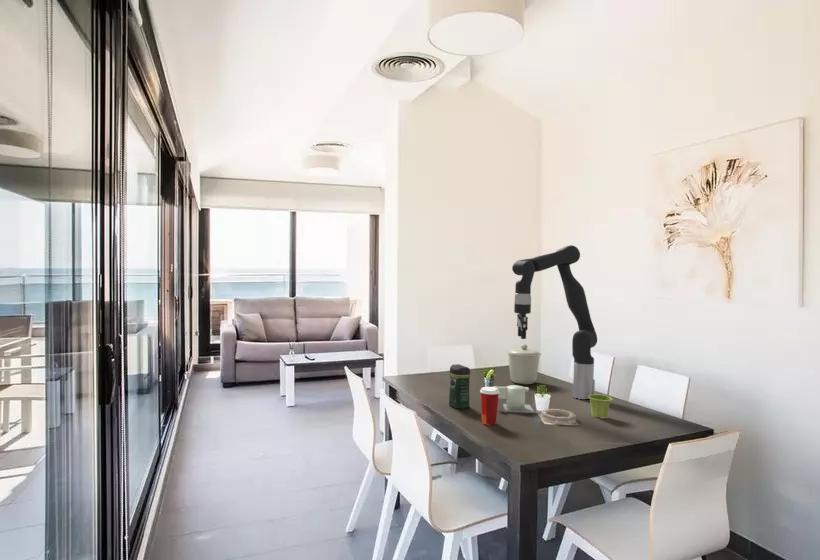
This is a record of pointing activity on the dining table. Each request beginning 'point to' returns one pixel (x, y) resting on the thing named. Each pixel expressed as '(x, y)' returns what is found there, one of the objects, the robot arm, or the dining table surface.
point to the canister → (523, 364)
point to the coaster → (526, 410)
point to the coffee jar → (459, 386)
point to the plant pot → (599, 405)
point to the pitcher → (513, 396)
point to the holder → (558, 417)
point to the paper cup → (489, 405)
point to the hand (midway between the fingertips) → (521, 337)
